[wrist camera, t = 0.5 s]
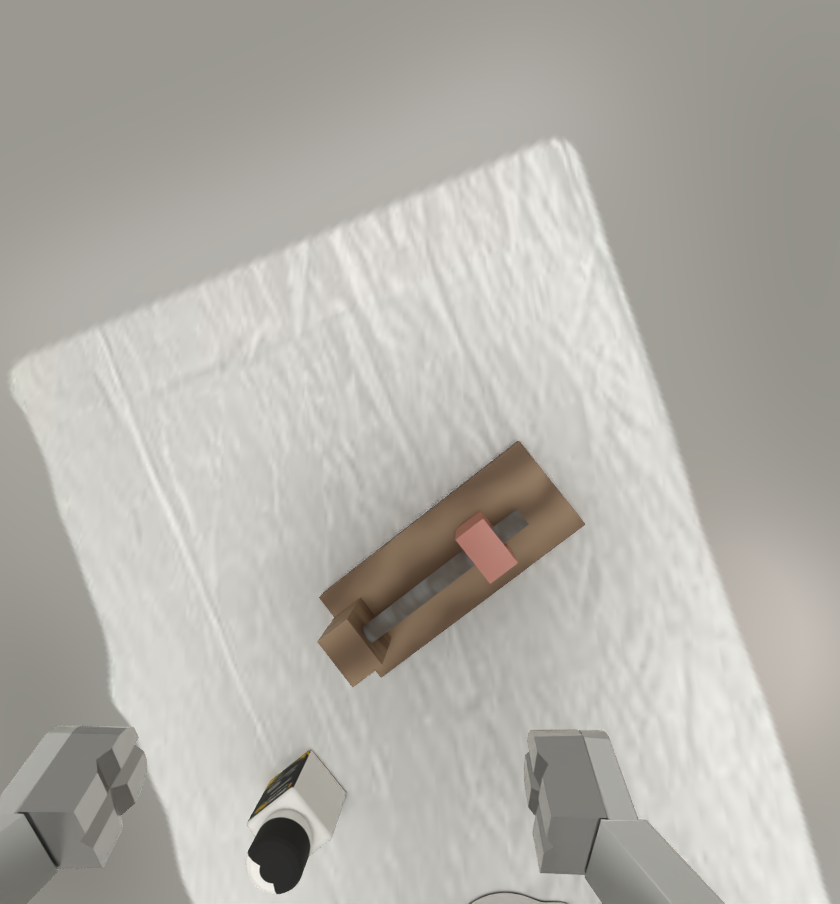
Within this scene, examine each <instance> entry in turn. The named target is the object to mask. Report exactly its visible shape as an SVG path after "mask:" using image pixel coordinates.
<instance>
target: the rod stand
mask: <svg viewBox="0 0 840 904" xmlns="http://www.w3.org/2000/svg"><path fill="white" fill-rule="evenodd" d="M480 510H481V511H482V513H483V514H484V515H485V516H486V518H487V519H488V520H489V522H490V523H491V524H492V525H493V527H492V529H493V530H494V532H495V533H496V534H497V535H498V537H499V538H500V539H501V541H502V542H503V543H505V542H506V543H507V544H508V546H509V547H510V548H511V549H512V551H513V553H514V555H515V557H516V560H517V562H518V563H517V564H516V565H515V566H513V567H512V568H511V569H509V570H508V571H507V572H505V573H504V574H503V575H501V576H500V577H499V578H497V579H496V580H495V581H493V582H492V583H491V584H490V583H489V582H488V581H487V579H486V578H485V577H484V575H483V574H482V573H481V572H480V570H479V569H478V568H477V567H476V565H475V564H474V563H473V561H472V560H471V559H470V558H469V556H468V555H467V554H466V553H465V551H464V550H463V549H462V547H461V546H460V545H459V544H458V542H457V541H456V540H455V538H456V529H457V528H458V527H460V526H461V525H462V524H464V523H465V522H466V521H467V520H469V519H470V518H471V517H473V516H474V515H475V514H477V513H478V512H479V511H480ZM584 525H585V523H584V522H583V521H582V519H581V518H580V517H579V516H578V514H577V513H576V512H575V511H574V509H573V508H572V507H571V506H570V504H569V503H568V502H567V501H566V499H565V498H564V497H563V496H562V494H561V493H560V492H559V491H558V489H557V488H556V487H555V486H554V484H553V483H552V482H551V481H550V479H549V478H548V477H547V476H546V474H545V473H544V472H543V471H542V469H541V468H540V467H539V465H538V464H537V463H536V462H535V460H534V459H533V458H532V457H531V455H530V454H529V453H528V452H527V450H526V449H525V448H524V447H523V445H522V444H521V443H520V442H516V443H515V444H514V445H512V446H511V447H510V448H508V449H507V450H506V451H505V452H503V453H502V454H501V455H499V456H498V457H497V458H496V459H494V460H493V461H492V462H490V463H489V464H488V465H487V466H485V467H484V468H483V469H481V470H480V471H479V472H478V473H476V474H475V475H474V476H472V477H471V478H470V479H469V480H467V481H466V482H465V483H464V484H462V485H461V486H460V487H458V488H457V489H456V490H455V491H453V492H452V493H451V494H449V495H448V496H447V497H446V498H444V499H443V500H442V501H440V502H439V503H438V504H437V505H435V506H434V507H433V508H431V509H430V510H429V511H428V512H426V513H425V514H424V515H422V516H421V517H420V518H419V519H417V520H416V521H415V522H413V523H412V524H411V525H410V526H408V527H407V528H406V529H404V530H403V531H402V532H401V533H399V534H398V535H397V536H395V537H394V538H393V539H392V540H390V541H389V542H388V543H386V544H385V545H384V546H383V547H381V548H380V549H379V550H377V551H376V552H375V553H374V554H372V555H371V556H370V557H368V558H367V559H366V560H365V561H363V562H362V563H361V564H359V565H358V566H357V567H356V568H354V569H353V570H352V571H350V572H349V573H348V574H347V575H345V576H344V577H343V578H342V579H340V580H339V581H338V582H336V583H335V584H334V585H333V586H331V587H330V588H329V589H327V590H326V591H325V592H324V593H323V594H322V595H321V596H320V597H319V598H320V599H321V601H322V602H323V603H324V604H325V606H326V607H327V608H328V610H329V611H330V612H331V614H332V615H333V616H334V617H335V618H334V619H333V620H332V622H331V623H330V625H329V626H328V628H327V629H326V630H325V632H324V633H323V635H322V636H321V637H320V639H319V640H318V643H319V644H320V646H321V647H322V648H323V650H324V651H325V652H326V653H327V655H328V656H329V657H330V659H331V660H332V661H333V663H334V664H335V665H336V666H337V668H338V669H339V670H340V672H341V673H342V674H343V676H344V677H345V678H346V679H347V681H348V682H349V683H350V685H351V686H352V687H354V686H355V685H357V684H358V683H359V682H360V681H362V680H363V679H364V678H366V677H367V676H368V675H370V674H371V673H372V672H374V671H376V672H377V673H378V674H379V676H380V677H383V676H384V675H385V674H387V673H388V672H389V671H391V670H392V669H393V668H395V667H396V666H397V665H399V664H400V663H401V662H403V661H404V660H405V659H407V658H408V657H409V656H411V655H412V654H413V653H415V652H416V651H417V650H419V649H420V648H421V647H423V646H424V645H425V644H427V643H428V642H429V641H431V640H432V639H433V638H435V637H436V636H437V635H439V634H440V633H441V632H443V631H444V630H445V629H447V628H448V627H449V626H451V625H452V624H453V623H455V622H456V621H457V620H459V619H460V618H461V617H463V616H464V615H465V614H467V613H468V612H469V611H471V610H472V609H473V608H475V607H476V606H477V605H479V604H480V603H481V602H483V601H484V600H485V599H487V598H488V597H489V596H491V595H492V594H493V593H495V592H496V591H497V590H499V589H500V588H501V587H503V586H504V585H505V584H507V583H508V582H509V581H511V580H512V579H513V578H515V577H516V576H517V575H519V574H520V573H521V572H523V571H524V570H525V569H527V568H528V567H529V566H531V565H532V564H533V563H535V562H536V561H537V560H539V559H540V558H541V557H543V556H544V555H545V554H547V553H548V552H549V551H551V550H552V549H553V548H555V547H556V546H557V545H559V544H560V543H561V542H563V541H564V540H565V539H567V538H568V537H569V536H571V535H572V534H573V533H575V532H576V531H577V530H578V529H580V528H581V527H582V526H584Z"/></svg>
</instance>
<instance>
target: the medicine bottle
mask: <svg viewBox="0 0 840 904" xmlns="http://www.w3.org/2000/svg"><path fill="white" fill-rule="evenodd" d="M345 796H346V793H345V791H344V790H343V789H342V787H341V786H340V785H339V784H338V782H337V781H336V780H335V779H334V777H333V776H332V775H331V774H330V772H329V771H328V770H327V769H326V767H325V766H324V765H323V764H322V762H321V761H320V760H319V759H318V757H317V756H316V755H315V754H314V752H313V751H312V750H309V751H308V752H307V753H305V754H304V755H303V756H302V757H300V758H299V759H298V760H297V761H295V762H294V763H293V764H292V765H290V766H289V767H288V768H287V769H285V770H284V771H283V772H282V773H280V774H279V775H278V776H276V777H275V778H274V779H273V780H271V781H270V783H269V784H268V786H267V788H266V790H265V791H264V793H263V795H262V797H261V799H260V800H259V802H258V804H257V806H256V808H255V810H254V811H253V813H252V815H251V817H250V819H249V820H248V822H247V827H248V828H249V830H250V831H251V832H252V833H253V835H254V836H255V839H254V841H253V843H252V845H251V846H250V848H249V850H248V853H247V856H246V869H247V873H248V875H249V878H250V879H251V881H252V882H253V884H254V885H255V886H256V887H257V888H259V889H260V890H262V891H264V892H266V893H269V894H281V893H285V892H287V891H289V890H291V889H292V888H294V887H295V886H296V885H297V883H298V882H299V880H300V878H301V876H302V873H303V870H304V868H305V865H306V862H307V859H308V857H309V856H310V855H311V854H313V853H314V852H315V851H317V850H318V849H319V848H320V847H322V846H323V845H324V844H326V843H327V842H328V841H330V840H331V838H332V836H333V833H334V830H335V827H336V824H337V821H338V818H339V814H340V811H341V808H342V805H343V802H344V799H345Z"/></svg>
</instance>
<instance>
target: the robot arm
mask: <svg viewBox="0 0 840 904" xmlns="http://www.w3.org/2000/svg"><path fill="white" fill-rule="evenodd" d="M138 738H139V737H138V735H137V733H136V731H135V728H134V727H101V726H55V727H54V728H53V729H51V730H50V731H49V732H48V733H47V734H46V735H45V736H44V737H43V739H42V740H41V741H40V743H39V744H38V746H37V747H36V748H35V749H34V751H33V752H32V754H31V755H30V756H29V757H28V759H27V760H26V762H25V763H24V764H23V766H22V767H21V768H20V770H19V771H18V772H17V774H16V775H15V776H14V778H13V779H12V781H11V782H10V783H9V784H8V786H7V787H6V789H5V790H4V791H3V793H2V794H1V795H0V904H27V903H28V902H29V901H30V899H32V897H34V896H35V894H37V892H38V891H39V890H40V889H41V888H42V887H43V886H44V885H45V884H46V883H47V882H48V881H49V880H50V879H51V878H52V877H53V876H54V875H55V874H56V873H57V871H58V870H57V869H72V868H103V867H104V865H105V863H106V861H107V859H108V857H109V855H110V853H111V851H112V849H113V847H114V845H115V843H116V841H117V839H118V837H119V835H120V833H121V831H122V829H123V827H122V818H121V815H122V814H123V813H125V812H126V811H127V810H128V809H129V808H130V807H131V806H133V805H134V804H135V802H136V800H137V798H138V796H139V794H140V792H141V790H142V788H143V784H144V780H145V777H146V773H147V759H146V756H145V753H144V751H143V750H141V749H140V748H138V747H137V746H136V745H135V743H136V741H137V740H138ZM527 742H528V747H529V752H528V753H527V754H526V755H525V762H524V781H525V790H526V797H527V803H528V807H529V809H530V810H531V811H532V812H533V814H534V815H535V822H534V828H533V837H534V842H535V848H536V853H537V859H538V864H539V870H540V873H555V874H578V875H585V878H586V880H587V881H588V883H589V884H590V886H591V887H592V889H593V890H594V892H595V893H596V895H597V896H598V898H599V899H600V901H601V902H602V904H725V903H724V902H723V901H722V900H721V899H720V898H719V897H718V896H717V895H716V894H715V893H714V891H713V890H712V889H711V888H710V887H709V886H708V885H707V884H706V883H705V882H704V881H703V880H702V879H701V878H700V877H699V876H698V874H697V873H696V872H695V871H694V870H693V869H692V868H691V867H690V866H689V865H688V864H687V863H686V862H685V861H684V860H683V859H682V857H681V856H680V855H679V854H678V853H677V852H676V851H675V850H674V849H673V848H672V847H671V846H670V845H669V844H668V843H667V841H666V840H665V839H664V838H663V837H662V836H661V835H660V834H659V833H658V832H657V831H656V830H655V829H654V828H653V827H652V826H651V824H650V823H649V822H648V821H647V820H638V817H637V814H636V811H635V809H634V806H633V803H632V800H631V797H630V795H629V792H628V789H627V786H626V784H625V781H624V778H623V775H622V773H621V770H620V767H619V764H618V761H617V759H616V756H615V753H614V750H613V748H612V745H611V742H610V739H609V737H608V735H607V734H606V733H605V731H602V730H530V732H529V734H528V740H527ZM471 904H565V903H560V902H546V903H544V902H540V901H536V900H534V899H531V898H529V897H526V896H523V895H519V894H512V893H498V894H492V895H488V896H485V897H482V898H480V899H478V900H476V901H475V902H473V903H471Z"/></svg>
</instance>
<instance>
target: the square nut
mask: <svg viewBox="0 0 840 904" xmlns="http://www.w3.org/2000/svg"><path fill="white" fill-rule="evenodd" d="M492 527H493V525H492V524H491V523H490V522H489V520H488V519H487V518H486V516H485V515H484V514H483V513H482V511H481V510H480V511H479V512H478V513H477V514H475V515H474V516H473V517H471V518H470V519H469V520H467V521H466V522H465V523H464V524H462V525H461V526H460V527H458V528H457V529H456V538H455V540H456V541H457V542H458V544H459V545H460V546H461V547H462V549H463V550H464V551H465V553H466V554H467V555H468V556H469V558H470V559H471V560H472V561H473V563H474V564H475V565H476V567H477V568H478V569H479V570H480V572H481V573H482V574H483V575H484V577H485V578H486V579H487V581H488V582H489V583H490V584H491V583H492V582H493V581H495V580H496V579H497V578H499V577H500V576H501V575H503V574H504V573H505V572H507V571H508V570H509V569H511V568H512V567H513V566H515V565H516V564H517V563H518V562H517V560H516V557H515V555H514V553H513V551H512V549H511V548H510V547H509V546H508V544H507V543H506V542H505V543H503V542H502V541H501V539H500V538H499V537H498V535H497V534H496V533H495V532H494V530H493V529H492Z"/></svg>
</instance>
